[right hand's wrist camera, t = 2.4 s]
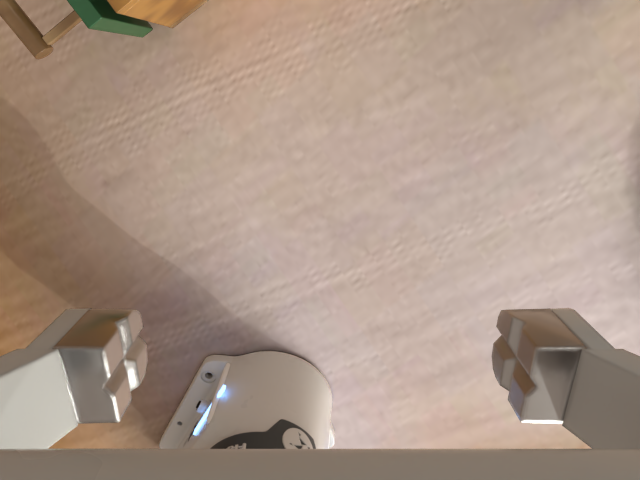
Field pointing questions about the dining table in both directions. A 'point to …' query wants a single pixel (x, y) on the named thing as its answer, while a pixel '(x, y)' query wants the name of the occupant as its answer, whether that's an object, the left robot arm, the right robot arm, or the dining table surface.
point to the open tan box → (157, 10)
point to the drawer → (70, 23)
